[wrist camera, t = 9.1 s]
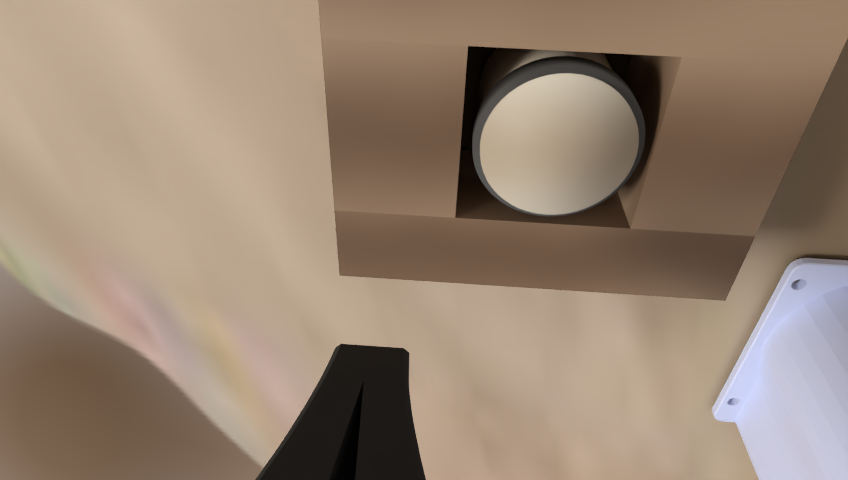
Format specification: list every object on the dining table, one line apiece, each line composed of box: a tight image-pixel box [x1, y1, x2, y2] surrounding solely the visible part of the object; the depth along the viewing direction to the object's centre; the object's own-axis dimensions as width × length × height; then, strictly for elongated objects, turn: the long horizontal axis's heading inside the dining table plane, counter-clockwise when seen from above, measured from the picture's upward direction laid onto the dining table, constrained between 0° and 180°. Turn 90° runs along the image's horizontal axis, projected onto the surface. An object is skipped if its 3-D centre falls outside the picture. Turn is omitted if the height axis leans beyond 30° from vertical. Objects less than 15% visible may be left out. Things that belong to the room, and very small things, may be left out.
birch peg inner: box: [472, 48, 645, 216], centre depth 17 cm, size 4×4×4 cm
